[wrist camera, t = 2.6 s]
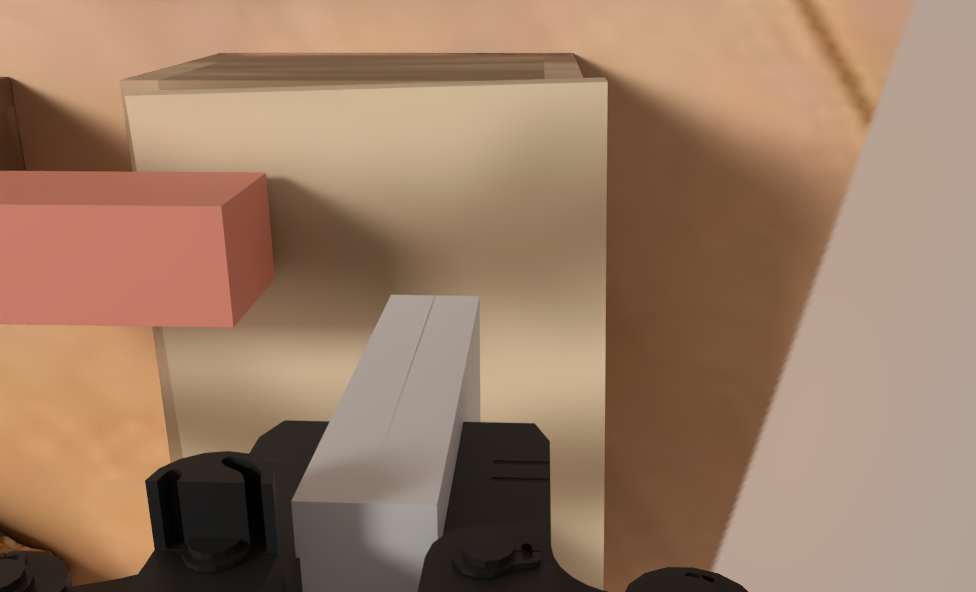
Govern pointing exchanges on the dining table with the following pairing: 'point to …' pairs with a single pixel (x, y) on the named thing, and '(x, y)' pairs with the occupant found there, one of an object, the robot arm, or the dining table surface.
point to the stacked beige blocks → (408, 256)
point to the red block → (133, 247)
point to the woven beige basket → (286, 71)
